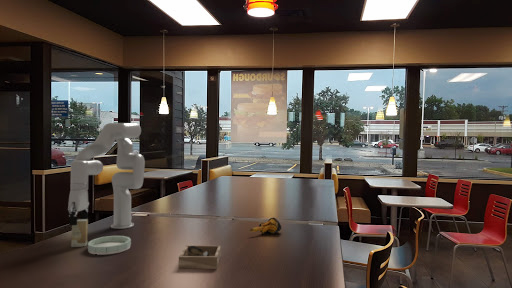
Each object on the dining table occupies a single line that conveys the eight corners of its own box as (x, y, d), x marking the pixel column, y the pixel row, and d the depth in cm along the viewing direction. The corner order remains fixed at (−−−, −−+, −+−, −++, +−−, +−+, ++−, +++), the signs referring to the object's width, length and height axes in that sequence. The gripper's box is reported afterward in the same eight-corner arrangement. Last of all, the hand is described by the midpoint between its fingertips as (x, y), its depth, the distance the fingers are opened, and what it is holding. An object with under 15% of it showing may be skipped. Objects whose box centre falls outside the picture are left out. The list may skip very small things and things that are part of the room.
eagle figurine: (208, 255, 148) (187, 252, 147) (211, 244, 145) (189, 240, 143) (206, 270, 142) (184, 267, 141) (209, 259, 138) (187, 255, 137)
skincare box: (71, 247, 161) (71, 221, 161) (73, 244, 166) (73, 219, 165) (86, 246, 163) (86, 220, 163) (88, 243, 167) (88, 218, 167)
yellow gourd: (287, 225, 187) (264, 219, 176) (277, 242, 188) (254, 237, 177) (278, 216, 194) (255, 209, 183) (268, 232, 195) (245, 227, 184)
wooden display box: (186, 255, 151) (186, 245, 151) (220, 255, 151) (220, 245, 151) (178, 268, 136) (178, 256, 136) (216, 268, 136) (216, 257, 136)
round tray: (99, 242, 169) (99, 235, 169) (135, 242, 169) (135, 235, 169) (80, 254, 151) (80, 246, 151) (121, 254, 151) (121, 247, 151)
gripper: (80, 184, 173) (80, 219, 172) (61, 188, 155) (60, 226, 155) (95, 184, 173) (95, 219, 172) (77, 188, 155) (77, 227, 155)
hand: (78, 222), depth 164 cm, fingers open, 9 cm apart
